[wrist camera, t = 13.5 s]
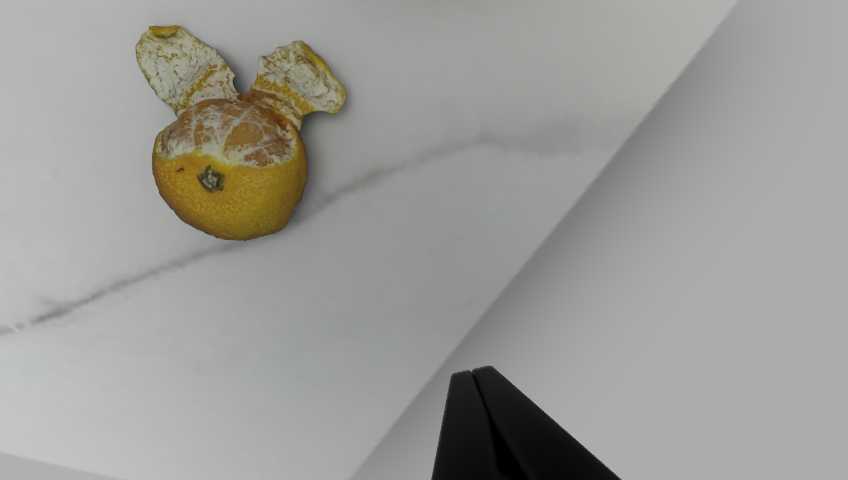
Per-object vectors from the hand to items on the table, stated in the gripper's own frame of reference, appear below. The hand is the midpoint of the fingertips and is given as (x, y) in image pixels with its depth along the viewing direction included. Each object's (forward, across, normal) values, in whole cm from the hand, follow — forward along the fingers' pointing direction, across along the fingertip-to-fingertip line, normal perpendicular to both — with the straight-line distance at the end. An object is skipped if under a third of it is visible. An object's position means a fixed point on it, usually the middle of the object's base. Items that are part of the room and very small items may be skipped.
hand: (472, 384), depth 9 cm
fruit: (+13, +6, -4) cm, 15 cm away
